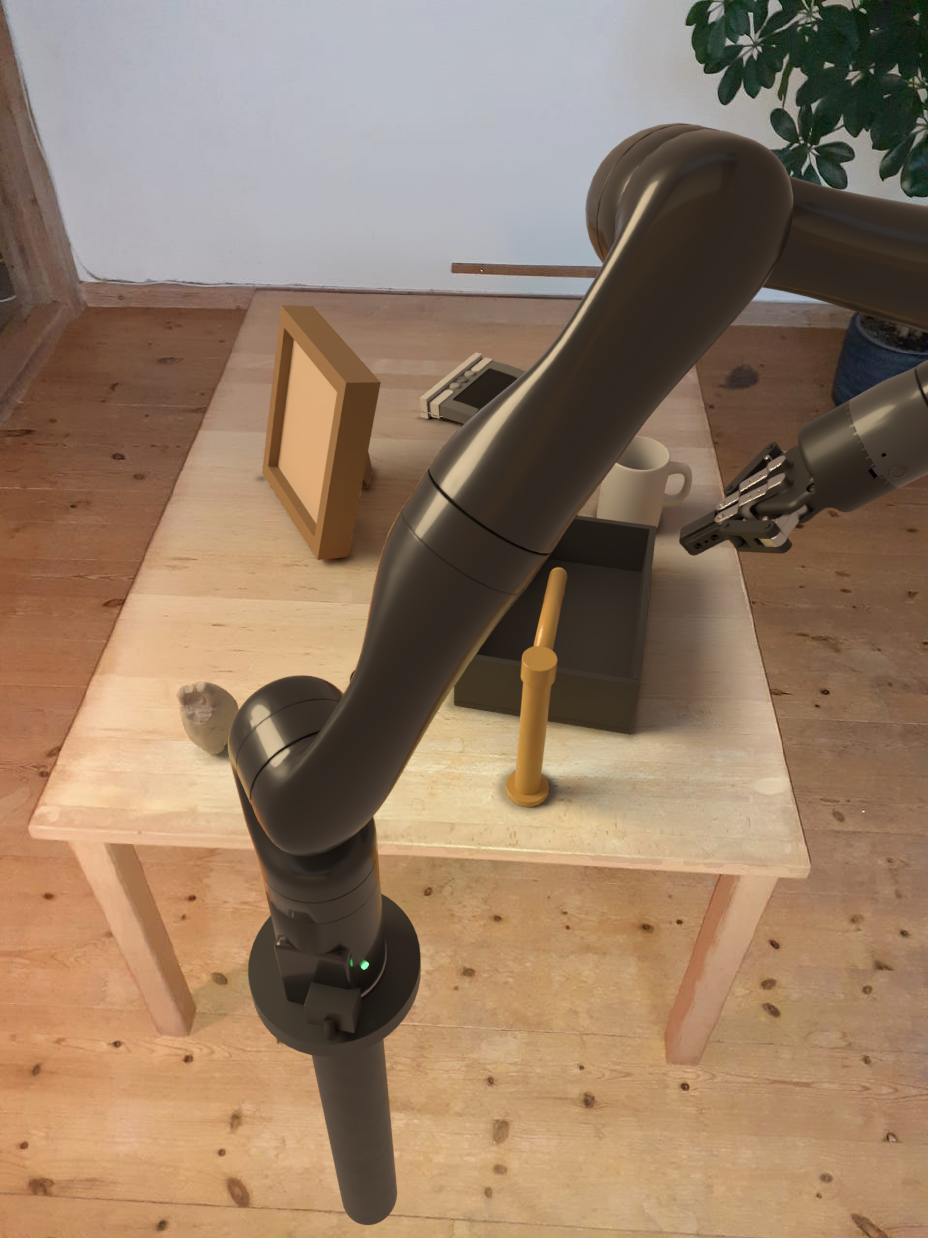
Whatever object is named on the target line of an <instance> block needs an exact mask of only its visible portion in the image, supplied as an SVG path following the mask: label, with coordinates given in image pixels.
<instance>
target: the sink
mask: <svg viewBox="0 0 928 1238" xmlns="http://www.w3.org/2000/svg"><path fill="white" fill-rule="evenodd" d="M656 533H657V529H656V526H652V525H644V524H637V523H630V522H622V521H615V520H608V519H600V518H597V517H592V516H587V515H586V516H584V515H579V514H577V516H576V517H575V519H574V520H573V522H572V523H571V524H570V526H569V527H568V529H567V530H566V532H565V533H564V535H563V536H562V538H561V539H560V541H559V543H558V544H557V546H556V547H555V549H554V550H553V551H552V552H551V554H550V556H549V557H548V558H547V560H546V561H545V563H544V564H543V565H542V567H541V568H540V569H539V571H538V572H537V574H536V575H535V576H534V578H533V579H532V580H531V582H530V583H529V585H528V586H527V587H526V589H525V590H524V591H523V593H522V594H521V595H520V596H519V598H518V599H517V600H516V601H515V602H514V604H513V605H512V606H511V607H510V609H509V610H508V611H507V612H506V614H505V615H504V616H503V618H502V619H501V620H500V622H499V623H498V624H497V626H496V627H495V628H494V630H493V631H492V632H491V634H490V635H489V637H488V638H487V639H486V641H485V642H484V644H483V645H482V646H481V648H480V649H479V651H478V652H477V654H476V655H475V657H474V658H473V660H472V661H471V662H470V664H469V665H468V667H467V668H466V670H465V671H464V673H463V674H462V676H461V677H460V678H459V680H458V681H457V683H456V684H455V686H454V687H453V706H457V707H462V708H469V709H475V710H481V711H487V712H493V713H498V714H505V715H509V716H517V717H520V715H521V703H522V691H523V681H522V679H521V663H522V655H523V653H524V652H525V651H526V650H527V649H528V648H531V647H533V646H534V642H535V637H536V633H537V628H538V624H539V619H540V615H541V610H542V606H543V601H544V597H545V592H546V588H547V583H548V579H549V574H550V572H551V571H552V569H554V568H557V567H560V568H563V569H564V570H565V571H566V572H567V581H566V587H565V595H564V597H563V601H562V606H561V611H560V616H559V621H558V626H557V631H556V636H555V641H554V646H553V651H554V653H555V654H556V656H557V658H558V661H557V670H556V679H555V681H554V683H553V684H552V685H551V694H550V702H549V711H548V720H547V722H553V723H559V724H565V725H572V726H576V727H577V726H578V727H584V728H588V729H589V728H590V729H595V730H602V731H607V732H613V733H618V734H619V733H620V734H625V735H631V731H632V726H633V722H634V718H635V717H634V716H635V713H636V707H637V702H638V698H639V694H640V693H639V692H640V688H641V680H642V671H643V670H642V669H643V660H644V651H645V640H646V634H647V633H646V631H647V622H648V613H649V603H650V592H651V582H652V576H653V575H652V574H653V573H652V572H653V565H654V555H655V546H656V535H657V534H656Z"/></svg>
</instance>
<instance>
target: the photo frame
mask: <svg viewBox="0 0 928 1238" xmlns="http://www.w3.org/2000/svg"><path fill="white" fill-rule="evenodd" d="M278 320H279V321H278V329H277V337H276V348H275V357H274V364H273V365H274V366H273V374H272V382H271V391H270V399H269V408H268V409H269V410H268V417H267V427H266V434H265V435H266V436H265V443H264V444H265V445H264V451H263V453H264V454H263V462H262V469H261V473H262V475H263V477H264V478H265V480H266V482H267V483H268V484H269V486H270V488H271V489H272V491H273V493H274V494H275V496H276V498H277V499H278V500H279V502H280V503H281V506H282V507H283V509H284V510H285V512H286V513H287V514H288V516H289V518H290V519H291V521H292V523H293V524H294V526H295V527H296V529H297V530H298V532H299V534H300V535H301V537H302V539H303V540H304V541H305V543H306V544H307V546H308V547H309V549H310V551H311V553H312V554H313V555H314V558H316V560H317V561H323V560H331V559H333V560H334V559H343V558H349V557H350V551H351V547H352V541H353V535H354V531H355V525H356V520H357V515H358V509H359V504H360V497H361V493H362V486H363V488H364V489H368V488H369V485H370V482H371V479H372V475H373V471H374V469H373V466H372V461H371V457H370V452H369V449H370V443H371V439H372V438H371V437H372V433H373V427H374V421H375V415H376V412H377V405H378V399H379V396H380V395H379V393H380V388H381V384H382V383H381V381H380V379H378V377H377V376H376V375H375V374H374V373H373V372H372V371H371V370H370V368H369V367H368V366H367V365H366V364H365V362H363V361H362V360H361V358H360V357H359V356H358V355H357V354H356V353H355V351H354V350H353V349H352V348H351V347H350V346H349V345H348V344H347V342H346V341H344V339H343V338H342V337H341V336H340V335H339V333H338V332H337V331H336V330H335V329H334V328H333V327H332V326H331V325H330V323H329V322H328V321H327V320H326V319H325V318H324V317H323V316H322V314H321V313H320V312H319V311H318V310H317V309H316V308H315V307H314V305H313V306H312V305H290V304H289V305H285V304H281V305H280V312H279V319H278Z"/></svg>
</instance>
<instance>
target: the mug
mask: <svg viewBox="0 0 928 1238" xmlns="http://www.w3.org/2000/svg"><path fill="white" fill-rule="evenodd" d="M671 458H672V456H671V452H670V450H669V449H668V448H667V446H666V445H665V444H663V443H662V442H660V441H658V440H657V439H654V438H651V437H646V436H642V435H635V437H634V438H633V440H632V441H631V443H630V444H629V445H628V447H627V448H626V450H625V451H624V453H623V454H622V455H621V457H620V458H619V460H618V461H617V462H616V464H615V465H614V466H613V468H612V469H611V470H610V472H609V473H608V474H607V476H606V477H605V478H604V480H603V481H602V482H601V484H600V491H599V498H598V503H597V504H598V505H597V509H596V518H600V519H608V520H615V521H622V522H630V523H637V524H644V525H652V526H656V530H657V528H658V526H659V524H660V520H661V514H662V510H663V508H671V507H677V506H680V505H681V504H683V503H685V501H686V500H687V498H688V496H689V494H690V492H691V488H692V484H693V472H692V469H691V467H690V466H689V465H688V464H687V463H685V462H682V461H673V460H672V459H671ZM676 474H678V475H682V476H683V478H684V480H683V481H684V482H683V485H682V488H681V490H679V492H678V493H676V494H666V493H665V492H666V488H667V483H668V479H669V476H671V475H676Z"/></svg>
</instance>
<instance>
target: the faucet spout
mask: <svg viewBox="0 0 928 1238" xmlns="http://www.w3.org/2000/svg"><path fill="white" fill-rule="evenodd" d="M566 581H567V572H566V571H565V570H564V569H563V568H560V567H557V568H554V569H552V571H551V572H550V574H549V579H548V583H547V588H546V592H545V597H544V601H543V606H542V610H541V615H540V619H539V624H538V628H537V633H536V637H535V642H534V646H533V647H531V648H528V649H527V650H526V651H525V652H524V653H523V655H522V663H521V679H522V681H523V683H524V684H525V685H527V686H529V687H531V688H534V689H545V688H548V687H550V686H551V685H552V684H553V683H554V681H555V679H556V670H557V661H558V658H557V656H556V654H555V653H554V651H553V646H554V641H555V636H556V631H557V626H558V621H559V616H560V611H561V606H562V601H563V597H564V595H565V587H566Z"/></svg>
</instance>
